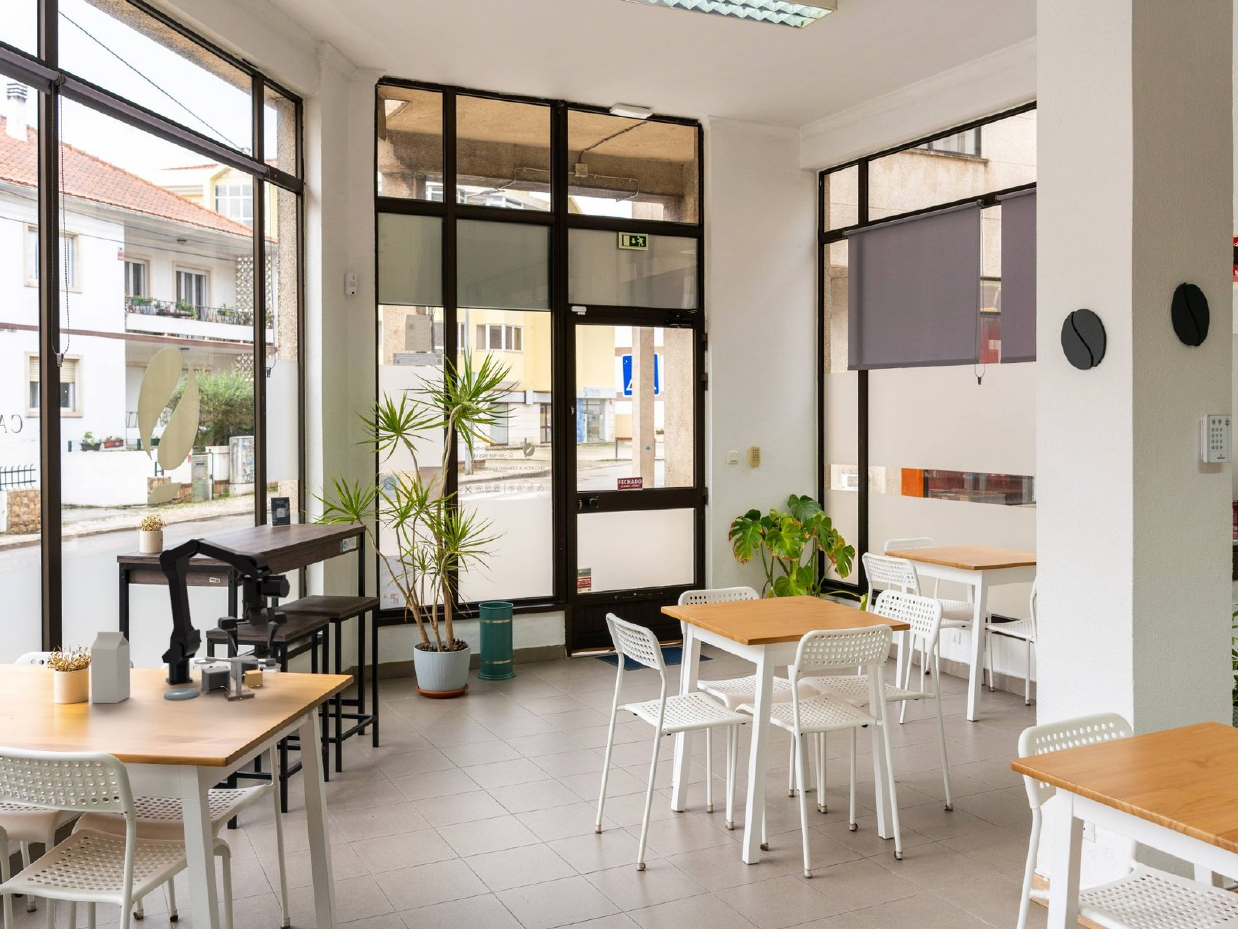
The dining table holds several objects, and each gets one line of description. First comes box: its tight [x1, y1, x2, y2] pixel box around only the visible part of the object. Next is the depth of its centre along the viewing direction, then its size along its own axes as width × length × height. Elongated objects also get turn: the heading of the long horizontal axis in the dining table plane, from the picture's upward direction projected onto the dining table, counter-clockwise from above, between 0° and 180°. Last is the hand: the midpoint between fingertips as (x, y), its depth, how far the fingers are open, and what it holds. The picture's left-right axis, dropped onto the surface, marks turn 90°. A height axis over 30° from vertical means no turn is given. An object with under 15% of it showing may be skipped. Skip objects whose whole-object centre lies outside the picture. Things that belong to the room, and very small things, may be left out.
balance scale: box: [194, 656, 282, 702], centre depth 281 cm, size 6×23×12 cm, turn 125°
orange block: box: [244, 669, 264, 688], centre depth 294 cm, size 4×4×4 cm
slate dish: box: [163, 687, 200, 701], centre depth 281 cm, size 9×9×1 cm
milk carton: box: [90, 631, 131, 704], centre depth 276 cm, size 7×7×19 cm
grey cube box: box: [201, 665, 232, 695], centre depth 288 cm, size 6×6×6 cm
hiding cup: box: [230, 654, 259, 681], centre depth 302 cm, size 6×6×6 cm
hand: (253, 649), depth 293 cm, fingers open, 9 cm apart
